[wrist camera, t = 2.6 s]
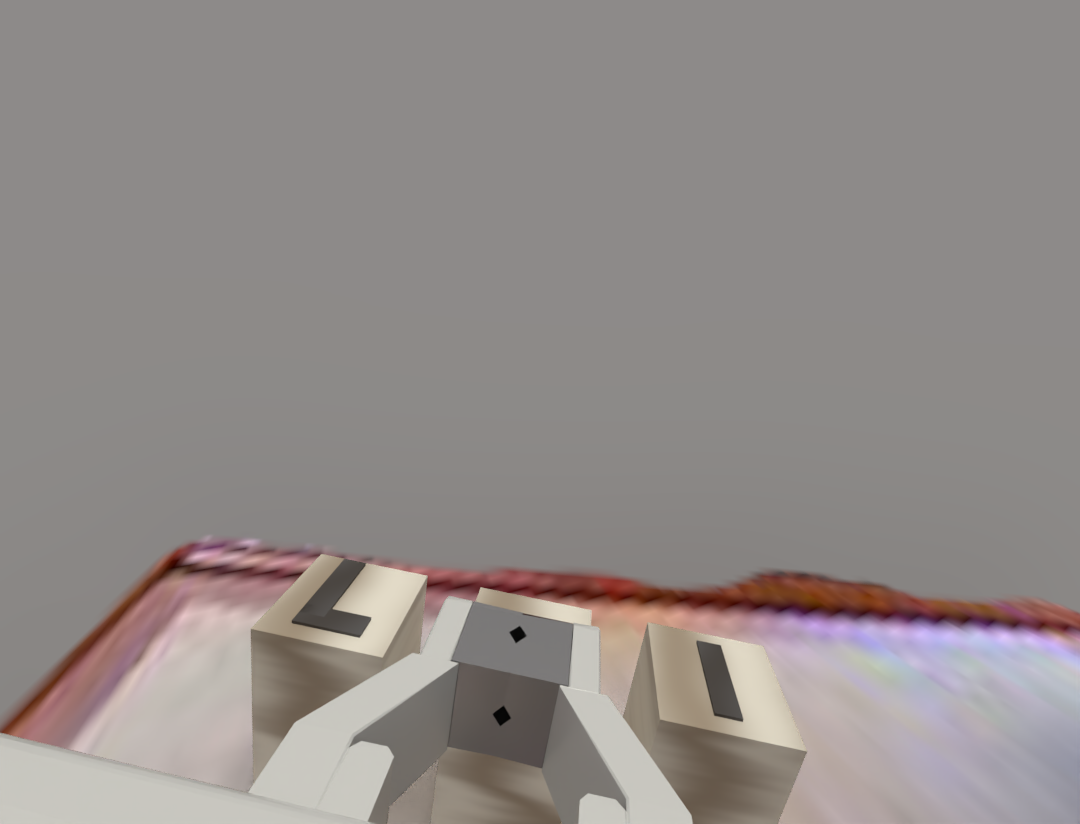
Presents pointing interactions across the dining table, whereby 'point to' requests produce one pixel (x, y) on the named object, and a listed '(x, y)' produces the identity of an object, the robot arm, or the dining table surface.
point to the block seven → (328, 641)
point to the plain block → (492, 782)
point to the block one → (715, 725)
